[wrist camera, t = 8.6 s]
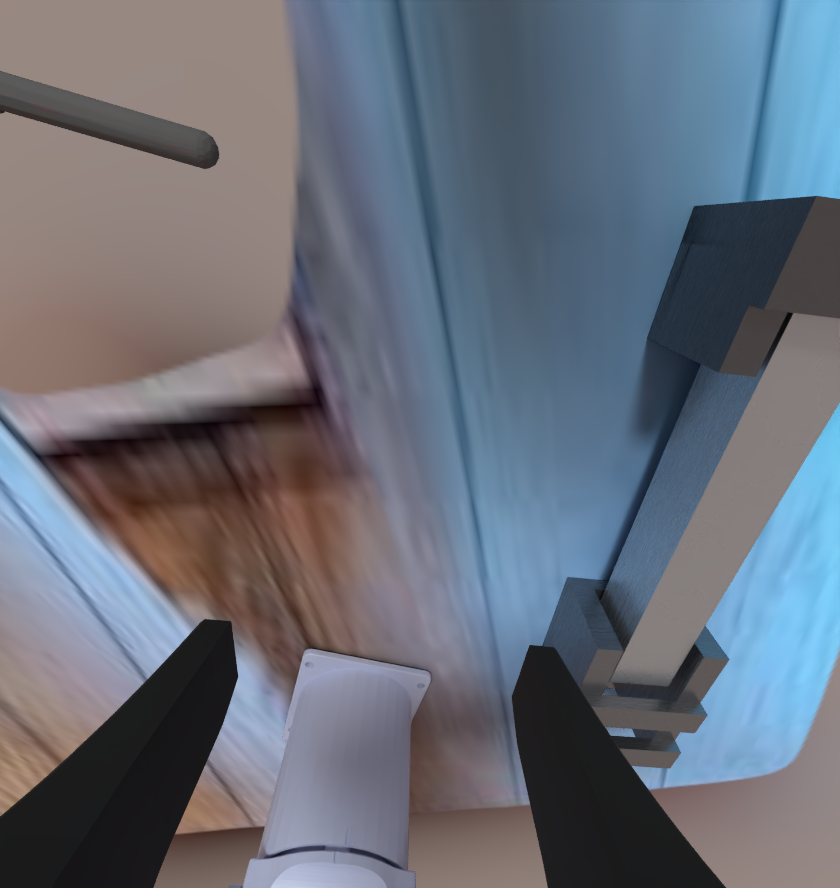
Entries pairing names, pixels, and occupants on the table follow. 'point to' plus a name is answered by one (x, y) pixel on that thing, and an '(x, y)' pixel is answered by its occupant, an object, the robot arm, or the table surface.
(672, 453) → the rod
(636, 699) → the sleeve
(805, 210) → the socket
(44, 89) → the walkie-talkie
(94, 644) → the table surface
